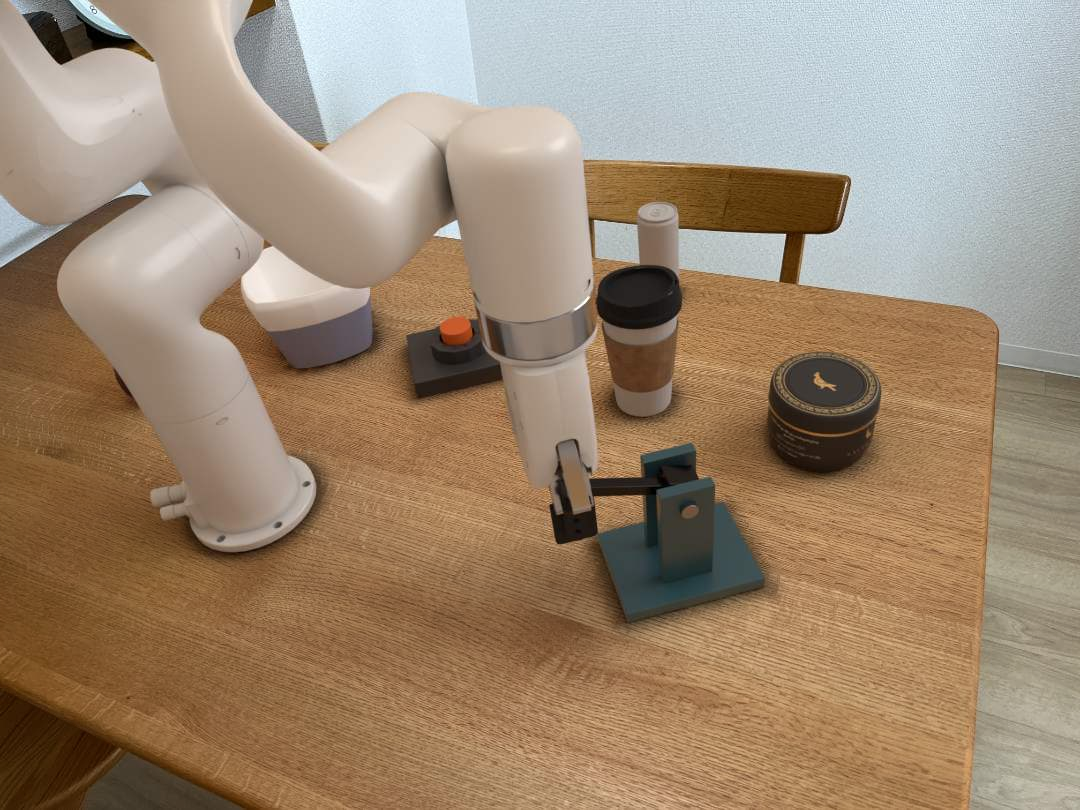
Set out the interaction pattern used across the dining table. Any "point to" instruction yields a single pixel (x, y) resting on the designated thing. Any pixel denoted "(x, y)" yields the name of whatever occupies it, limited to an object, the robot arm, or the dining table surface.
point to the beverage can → (658, 235)
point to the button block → (449, 362)
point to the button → (456, 331)
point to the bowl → (306, 311)
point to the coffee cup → (640, 335)
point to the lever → (639, 482)
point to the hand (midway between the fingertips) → (565, 501)
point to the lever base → (678, 546)
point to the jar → (822, 410)
